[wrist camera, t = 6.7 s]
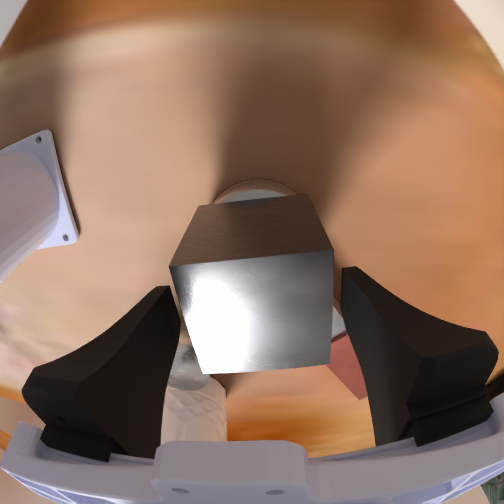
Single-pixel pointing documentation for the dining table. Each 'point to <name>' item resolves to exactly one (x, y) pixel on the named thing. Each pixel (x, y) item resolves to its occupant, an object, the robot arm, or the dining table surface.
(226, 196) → the ratchet
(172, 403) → the white cup
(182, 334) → the socket
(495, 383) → the beer stein
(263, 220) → the brushed steel cube
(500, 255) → the dining table surface
